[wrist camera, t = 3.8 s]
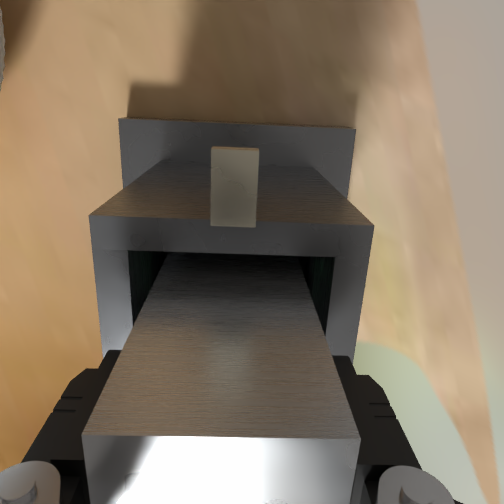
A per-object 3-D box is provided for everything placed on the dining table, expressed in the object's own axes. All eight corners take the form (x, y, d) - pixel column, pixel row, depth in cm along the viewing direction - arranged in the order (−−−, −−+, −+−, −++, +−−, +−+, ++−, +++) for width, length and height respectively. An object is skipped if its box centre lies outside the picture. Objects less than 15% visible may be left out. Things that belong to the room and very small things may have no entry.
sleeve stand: (126, 117, 22) (-12, 139, 10) (348, 127, 22) (471, 160, 10) (138, 315, 26) (52, 495, 14) (325, 320, 26) (392, 499, 15)
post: (192, 196, 21) (74, 429, 6) (279, 199, 21) (367, 433, 6) (192, 276, 23) (100, 614, 8) (274, 279, 23) (334, 614, 8)
